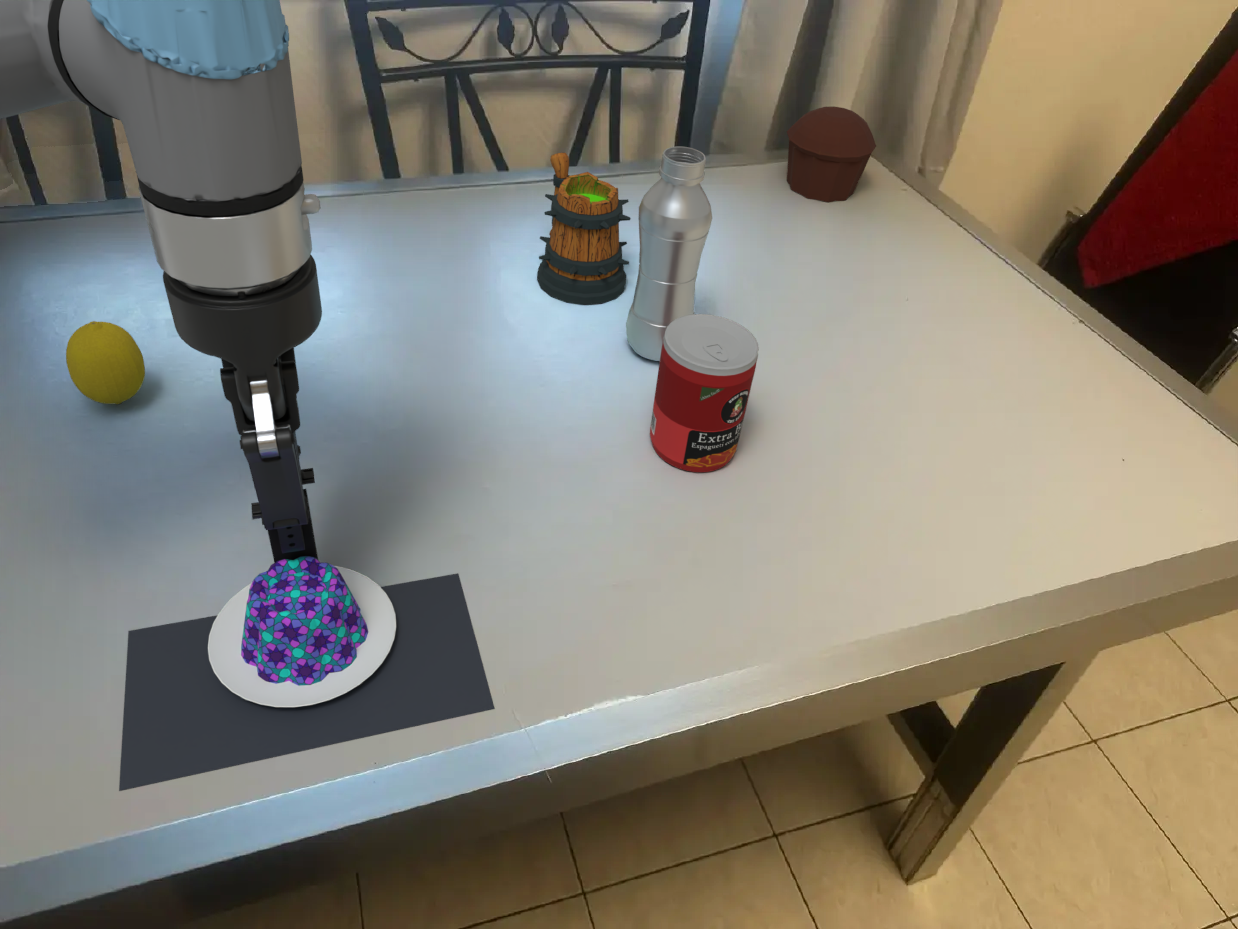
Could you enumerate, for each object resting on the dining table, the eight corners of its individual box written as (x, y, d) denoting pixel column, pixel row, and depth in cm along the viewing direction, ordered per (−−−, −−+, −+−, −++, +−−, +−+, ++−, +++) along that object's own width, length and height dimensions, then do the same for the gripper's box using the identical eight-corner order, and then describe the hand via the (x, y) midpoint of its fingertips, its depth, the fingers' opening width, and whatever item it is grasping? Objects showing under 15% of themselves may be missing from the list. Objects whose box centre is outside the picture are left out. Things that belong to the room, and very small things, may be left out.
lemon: (78, 426, 78) (49, 345, 72) (86, 386, 82) (59, 306, 76) (152, 419, 79) (128, 339, 74) (156, 380, 83) (134, 301, 78)
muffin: (817, 162, 132) (834, 89, 126) (880, 193, 127) (901, 119, 120) (758, 180, 126) (773, 104, 120) (822, 214, 120) (841, 137, 114)
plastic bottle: (680, 377, 91) (713, 178, 78) (613, 358, 92) (635, 160, 79) (698, 342, 96) (732, 150, 82) (634, 325, 97) (658, 133, 84)
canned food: (691, 487, 79) (711, 380, 72) (629, 435, 83) (643, 329, 76) (755, 454, 83) (780, 349, 76) (693, 406, 88) (711, 303, 80)
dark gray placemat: (119, 791, 55) (118, 791, 55) (128, 631, 63) (128, 630, 63) (494, 709, 61) (494, 708, 61) (458, 574, 70) (458, 573, 70)
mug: (645, 296, 101) (658, 194, 94) (558, 313, 97) (564, 208, 90) (591, 239, 110) (599, 142, 102) (509, 253, 105) (510, 152, 98)
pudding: (393, 708, 61) (388, 657, 57) (194, 720, 59) (176, 668, 55) (399, 568, 70) (395, 517, 66) (226, 574, 68) (212, 522, 64)
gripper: (326, 321, 46) (366, 631, 61) (304, 198, 55) (344, 495, 70) (156, 337, 44) (243, 654, 59) (162, 206, 53) (236, 511, 68)
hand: (298, 568), depth 65 cm, fingers closed
